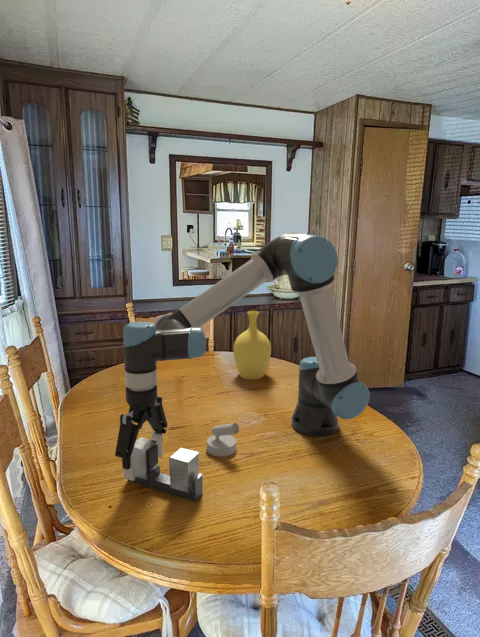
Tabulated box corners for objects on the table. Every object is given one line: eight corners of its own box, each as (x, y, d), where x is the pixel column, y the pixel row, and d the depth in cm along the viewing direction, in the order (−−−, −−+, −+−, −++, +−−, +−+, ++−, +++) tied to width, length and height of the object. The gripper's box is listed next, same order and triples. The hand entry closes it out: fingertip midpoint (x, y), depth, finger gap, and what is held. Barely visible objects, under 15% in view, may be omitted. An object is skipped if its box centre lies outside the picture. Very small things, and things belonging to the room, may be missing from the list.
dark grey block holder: (204, 492, 108) (204, 453, 106) (193, 504, 103) (193, 464, 101) (137, 472, 116) (136, 435, 114) (125, 482, 111) (124, 444, 109)
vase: (228, 370, 194) (229, 308, 188) (262, 367, 199) (264, 307, 193) (239, 383, 179) (240, 316, 173) (275, 380, 184) (278, 315, 178)
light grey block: (130, 474, 110) (128, 445, 109) (142, 464, 115) (141, 437, 113) (148, 480, 108) (147, 451, 106) (160, 470, 112) (159, 441, 111)
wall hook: (226, 430, 120) (200, 419, 126) (226, 461, 122) (200, 449, 128) (246, 419, 126) (220, 409, 132) (245, 449, 128) (220, 438, 134)
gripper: (156, 368, 118) (158, 443, 123) (95, 400, 97) (100, 487, 102) (180, 373, 115) (181, 449, 120) (122, 406, 94) (126, 496, 99)
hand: (144, 466), depth 111 cm, fingers open, 11 cm apart
